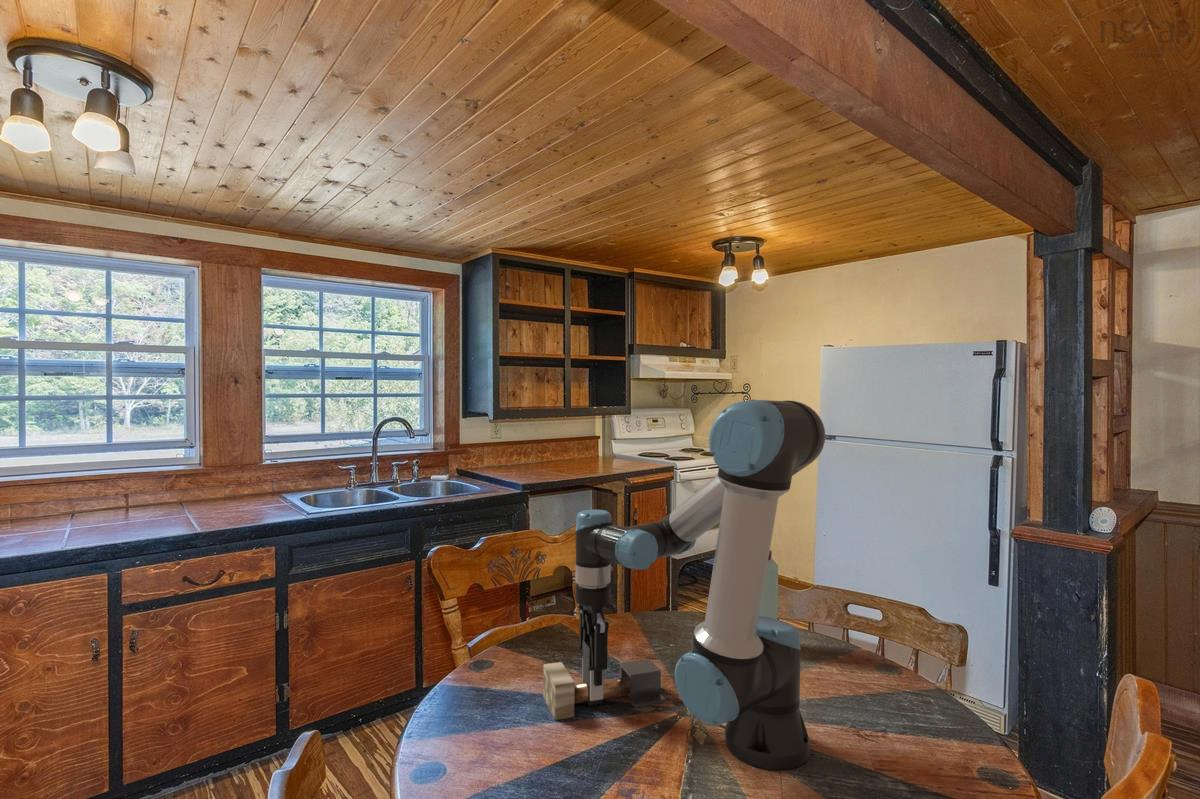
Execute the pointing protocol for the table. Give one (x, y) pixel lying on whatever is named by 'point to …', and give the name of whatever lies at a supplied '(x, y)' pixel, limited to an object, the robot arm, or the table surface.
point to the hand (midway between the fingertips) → (592, 693)
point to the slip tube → (609, 686)
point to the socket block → (558, 690)
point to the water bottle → (770, 591)
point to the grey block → (643, 682)
